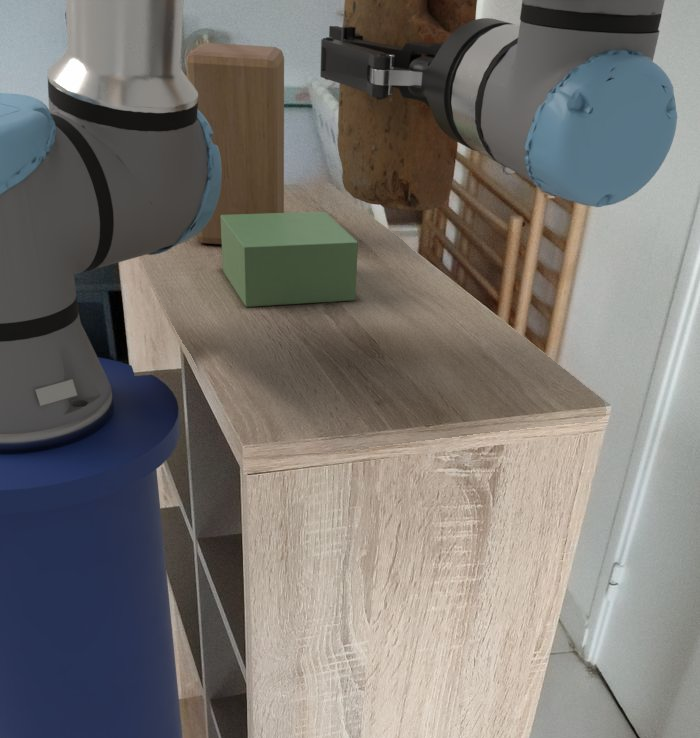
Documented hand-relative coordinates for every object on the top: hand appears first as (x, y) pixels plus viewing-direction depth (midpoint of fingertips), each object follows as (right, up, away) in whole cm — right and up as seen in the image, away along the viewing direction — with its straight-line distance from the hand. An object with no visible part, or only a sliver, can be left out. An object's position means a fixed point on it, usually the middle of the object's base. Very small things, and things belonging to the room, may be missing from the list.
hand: (386, 46), depth 76 cm
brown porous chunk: (+1, -11, +4) cm, 12 cm away
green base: (-10, -11, +23) cm, 28 cm away
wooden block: (-17, 0, +37) cm, 41 cm away
